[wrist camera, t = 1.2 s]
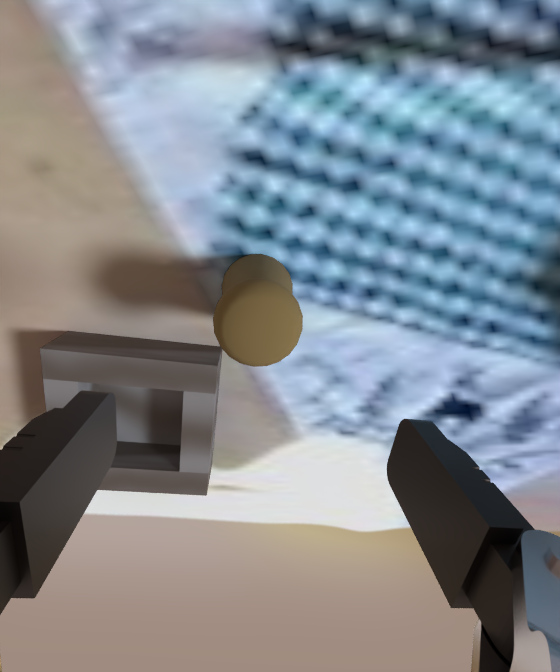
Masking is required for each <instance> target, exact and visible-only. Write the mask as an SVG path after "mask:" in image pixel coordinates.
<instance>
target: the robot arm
mask: <svg viewBox="0 0 560 672" xmlns="http://www.w3.org/2000/svg"><path fill="white" fill-rule="evenodd" d="M116 447H117V423H116V398H115V395H114V394H113V393H109V392H97V391H85V390H82V391H80V392H79V393H77V394H76V395H75V396H74V397H73V398H72V399H71V400H70V401H69V402H68V403H67V404H66V405H65V406H64V407H63V408H54V409H52V410H50V411H48V412H46V413H44V414H42V415H40V416H38V417H36V418H34V419H33V420H31V421H30V422H29V423H28V424H27V425H26V426H25V427H24V428H23V429H22V430H21V431H19V432H18V433H17V436H16V437H13V438H12V439H11V440H10V441H9V442H7V443H6V444H5V445H4V446H3V449H2V450H0V614H1V613H2V611H3V610H4V608H5V606H6V605H7V603H8V602H9V600H10V599H11V598H35V597H36V595H37V593H38V592H39V590H40V588H41V586H42V584H43V583H44V581H45V579H46V578H47V576H48V574H49V573H50V571H51V569H52V567H53V566H54V564H55V562H56V560H57V559H58V557H59V555H60V553H61V552H62V550H63V548H64V547H65V545H66V543H67V541H68V540H69V538H70V536H71V534H72V533H73V531H74V529H75V527H76V526H77V524H78V522H79V521H80V518H81V517H82V515H83V514H84V512H85V510H86V508H87V507H88V505H89V503H90V501H91V500H92V498H93V496H94V495H95V493H96V491H97V489H98V488H99V486H100V484H101V482H102V481H103V479H104V477H105V475H106V474H107V472H108V470H109V469H110V467H111V465H112V462H113V460H114V457H115V453H116ZM387 476H388V481H389V484H390V486H391V488H392V490H393V492H394V494H395V496H396V498H397V500H398V502H399V504H400V506H401V508H402V510H403V512H404V514H405V516H406V518H407V520H408V522H409V524H410V526H411V528H412V530H413V532H414V534H415V536H416V538H417V540H418V542H419V544H420V546H421V548H422V550H423V552H424V554H425V556H426V558H427V560H428V562H429V564H430V566H431V568H432V570H433V572H434V574H435V576H436V578H437V580H438V582H439V584H440V586H441V588H442V590H443V592H444V595H445V597H446V598H447V600H448V603H449V605H450V606H451V608H474V610H475V612H476V614H477V615H478V617H479V619H478V621H477V622H476V624H475V627H474V634H473V650H472V664H471V672H560V537H559V536H557V535H554V534H552V533H549V532H546V531H541V530H535V529H534V528H533V527H532V526H531V525H530V524H529V523H528V521H527V520H526V519H525V518H524V517H523V516H522V515H521V514H520V512H519V511H518V510H517V509H516V508H515V507H514V506H513V505H512V503H511V502H510V501H509V500H508V499H507V498H506V497H505V496H504V494H503V493H502V492H501V491H500V490H499V489H498V488H497V487H496V485H495V484H494V483H491V482H490V479H489V478H488V476H487V475H486V474H485V473H484V472H483V471H482V470H479V466H478V465H477V464H476V463H475V462H474V461H473V459H472V458H471V457H470V456H469V455H468V454H467V453H466V452H465V451H463V450H462V449H461V448H459V447H458V446H457V445H455V444H454V443H452V442H451V441H450V440H448V439H447V438H446V437H445V436H444V435H443V434H442V432H441V431H440V430H439V429H438V428H437V427H436V425H435V424H434V423H433V422H431V421H425V420H413V419H403V420H402V421H401V422H400V424H399V427H398V430H397V433H396V436H395V440H394V443H393V446H392V449H391V453H390V456H389V459H388V463H387ZM0 672H2V667H1V656H0Z"/></svg>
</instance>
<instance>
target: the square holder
mask: <svg viewBox="0 0 560 672" xmlns="http://www.w3.org/2000/svg"><path fill="white" fill-rule="evenodd" d="M40 356H41V366H42V375H43V385H44V394H45V404H46V412H48V411H50V410H52V409H54V408H63V407H64V406H65V405H66V404H67V403H68V402H69V401H70V400H71V399H72V398H73V397H74V396H75V395H76V394H77V393H79V392H80V391H82V390H85V391H97V392H109V393H113V394H114V395H115V398H116V423H117V447H116V453H115V457H114V460H113V462H112V465H111V467H110V469H109V470H108V472H107V474H106V475H105V477H104V479H103V481H102V482H101V484H100V486H99V488H98V489H97V490H112V491H131V492H150V493H169V494H187V495H207V490H208V484H209V478H210V473H211V467H212V458H213V447H214V436H215V425H216V413H217V402H218V391H219V380H220V369H221V358H222V348H221V347H217V346H207V345H197V344H188V343H178V342H169V341H159V340H149V339H140V338H130V337H120V336H111V335H101V334H91V333H82V332H72V331H68V332H66V333H65V334H63V335H61V336H60V337H58V338H56V339H55V340H53V341H51V342H50V343H48V344H46V345H45V346H43V347H42V348H40Z"/></svg>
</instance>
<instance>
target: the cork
mask: <svg viewBox="0 0 560 672" xmlns="http://www.w3.org/2000/svg"><path fill="white" fill-rule="evenodd" d="M302 318H303V316H302V313H301V310H300V307H299V304H298V302H297V300H296V299H295V297H294V296H293V295H292V281H291V278H290V275H289V273H288V271H287V270H286V269H285V267H284V266H283V265H282V264H281V263H280V262H278V261H277V260H276V259H274V258H273V257H269V256H266V255H263V254H250V255H247V256H245V257H242V258H239V259H238V260H237V261H235V262H234V263H233V264H232V265H231V266H230V267H229V269H228V270H227V272H226V273H225V275H224V279H223V282H222V297H221V299H220V300H219V302H218V303H217V305H216V309H215V313H214V317H213V324H214V333H215V335H216V337H217V340H218V342H219V344H220V347H221V348H222V349H223V350H224V351H225V352H226V353H227V355H228V356H229V357H231V358H233V359H234V360H236V361H238V362H239V363H241V364H245V365H249V366H268V365H271V364H274V363H277V362H279V361H281V360H282V359H283V358H285V357H286V356H288V355H289V354H290V353H291V351H292V350H293V349H294V348H295V346H296V345H297V343H298V340H299V337H300V334H301V332H302Z"/></svg>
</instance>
